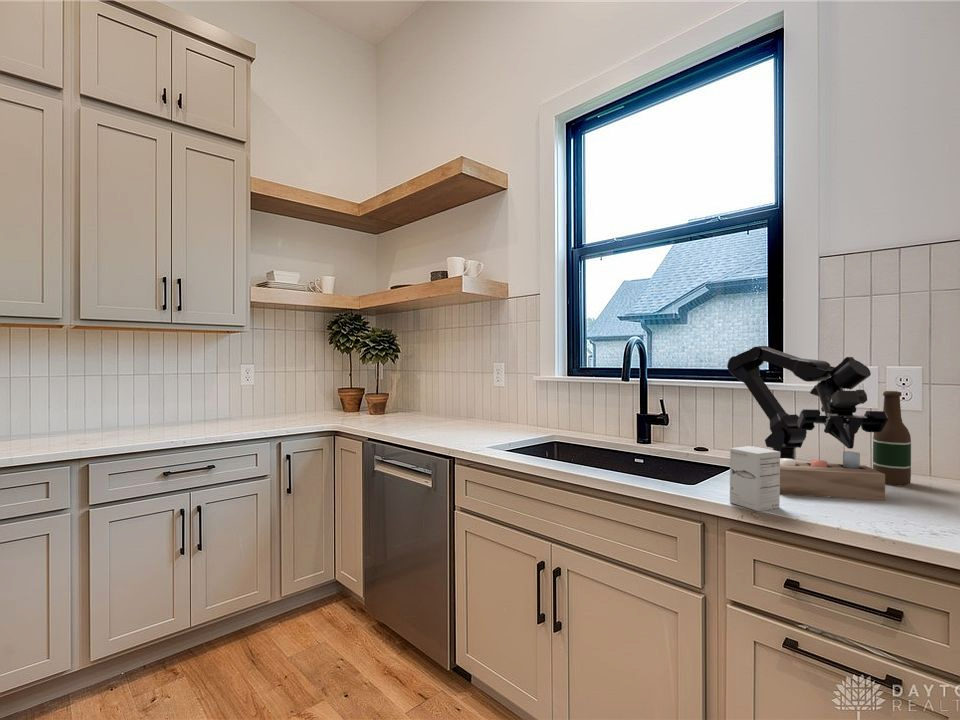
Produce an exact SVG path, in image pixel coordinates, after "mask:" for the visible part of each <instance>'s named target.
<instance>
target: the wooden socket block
mask: <svg viewBox="0 0 960 720" xmlns="http://www.w3.org/2000/svg"><path fill="white" fill-rule="evenodd" d="M788 494H793V495H792V496H805V495H810V496H809V497H821V496H830V497H829V498H838V497H842V498H843V499H854V498H856V500H858V499H859V500H870V499H871V500H873V501H885V500H886V484H885V474H883V473H881V472H879V471H876V470H874V469H873V467H870V466H867V465H862V464H860V469H849V468H843V463H827V467H811V462H799V461H798V462H797V461H795V466H786V465H780V495H788ZM811 495H813V496H811ZM842 498H841V499H842Z"/></svg>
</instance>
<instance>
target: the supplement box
mask: <svg viewBox="0 0 960 720" xmlns="http://www.w3.org/2000/svg"><path fill="white" fill-rule="evenodd" d="M729 466H730V467H729V503H730V504H735V505H738V506H739V507H744V508H747V509H750V510H753V511H756V512H763V511H768V510H769V509H770V510H773V508H775V509H778V507H779V508H780V502H781V501H780V495H781V494H780V451H774V450H773V449H768V448H763V447H759V446H758V447H757V446H754V445H753V446H752V445H746V446H739V447H730V453H729Z"/></svg>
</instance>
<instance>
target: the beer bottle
mask: <svg viewBox="0 0 960 720" xmlns="http://www.w3.org/2000/svg"><path fill="white" fill-rule="evenodd" d="M882 396H883V407H882V408H883V410H882V411H884V412H885V413H886V414H887V416H888V418H889V419H888V421H887V423H886V424H885V426H884V428H883V430H882V431H881V432H873V437H872V469H874V470H876V471H879V472H881V473H883V474H885V485H888V484H889V486H898V485H902V486H903V487H905V485H906V486H909V485H910V484H911V481H912V480H911V479H912V440H911V439H912V437H911V434H910V431H909V429H908V428H907V426H906V425H905V424H904V422H903V418H902V409H901V397H902V393H901V391H897V390H885V391H883V393H882ZM908 484H909V485H908ZM902 486H901V487H902Z"/></svg>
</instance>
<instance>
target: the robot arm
mask: <svg viewBox="0 0 960 720" xmlns="http://www.w3.org/2000/svg"><path fill="white" fill-rule="evenodd" d="M764 362H766V363H769V364H772V365H775V366H777V367H779V368H782V369H786V370H788V371H790V372H792V373H793V375H794V376H795V377H797V378H799V379H801V381H804V382H809V383H810V382H818V383H817V384H816V385H814V386H813V388H812V389H810V391H809V393H810V394H811V395H812V396H813V395H814V396H816V397H819V400H820V403H821V407H820V408H821V410H820V409H809V408H807V409H805V408H803V409H802V410H801V411H800V413H799V415H798V414H789V413H787V412H786V411H785V409H784V408H783V406H782V405H781V404H780V402H779V400H778V399H777V398H776V397H775V395H774V393H773V392H772V391H771V390H770V388H769V387H768V385H767V384H766V383H765V381H764V379H763V378H762V377H761V374H760V373H761V368H760V366H762V365H763V364H764ZM726 368H727V370H728V372H729V373H730V374H731V375H732V376H733V377H734V378H735V379H737V380H738V381H740V382H742V383H743V384H744V385H745V386H746V388H747V389H748V390H749V392H750V393H751V395H752V396H753V398H754V399H755V400H756V402H757V403H758V405H759V406H760V408H761V410H762V411H763V413H764V414H765V415H766V417H767V418H768V420H769V430H770V432H771V433H770V434H769V435H768V436H767V437H765V439H764V443H765V446H766V447H767V448H772V450H774V451H780V458H788V459H794V460H795V461H796V448H799V449H801V448H802V446H803V443H804V442H805V440H806V438H807V434H808V433H807V431H813V430H814V429H815V424H816V425H824V426H825V427H824V429H823V431H824V433H825V434H829V435H830V436H831V437H832V436H833V437H834V438H835V439H836V440H837V441H838V442H840V443H842V445H844V447H846V448H847V449H849V450H850V449H853V448H854V443H855V435H856V434H857V433H858V432H859V429H860V428H861V430H862V431H864V432H866V433H874V432H881V431H882V430H883V428H884V426H885V424H886V423H887V421H888V419H889V418H888V416H887V414H886V413H885V412H884V411H883V410H866V411H865V412H864V415H858V414H857V415H855V413H856V412H857V406H858V405H861V404H865V403H866V402H868V395H867V392H866V391H865V390H864V389H856V390H853V389H855V388H856V387H857V386H858V385H860V384H861V383H863V382H864V381H865V380H867V379H868V378H870V376H871V370H870V369H869V368H870V367H868V366H867V365H865V364H864V363H862V362H861V361H859V360H856V359H855V358H854V357H853V356H846V357H845V358H844V359H843V360H842V361H841V362H839V364H838V365H836V366H832V365H831V363H829V362H827V361H825V360H819V359H808V358H801V357H798V356H795V355H792V354H790V353H786V352H783V351H780V350H777V349H775V348H771V347H770V346H768V345H755V346H752V348H750V349H749V350H746V351H743V352H741V353H739V354H737V355H733V356H731V357H730V358H729V359H728V362H727V367H726ZM822 412H824V414H825V415H821V413H822Z"/></svg>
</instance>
